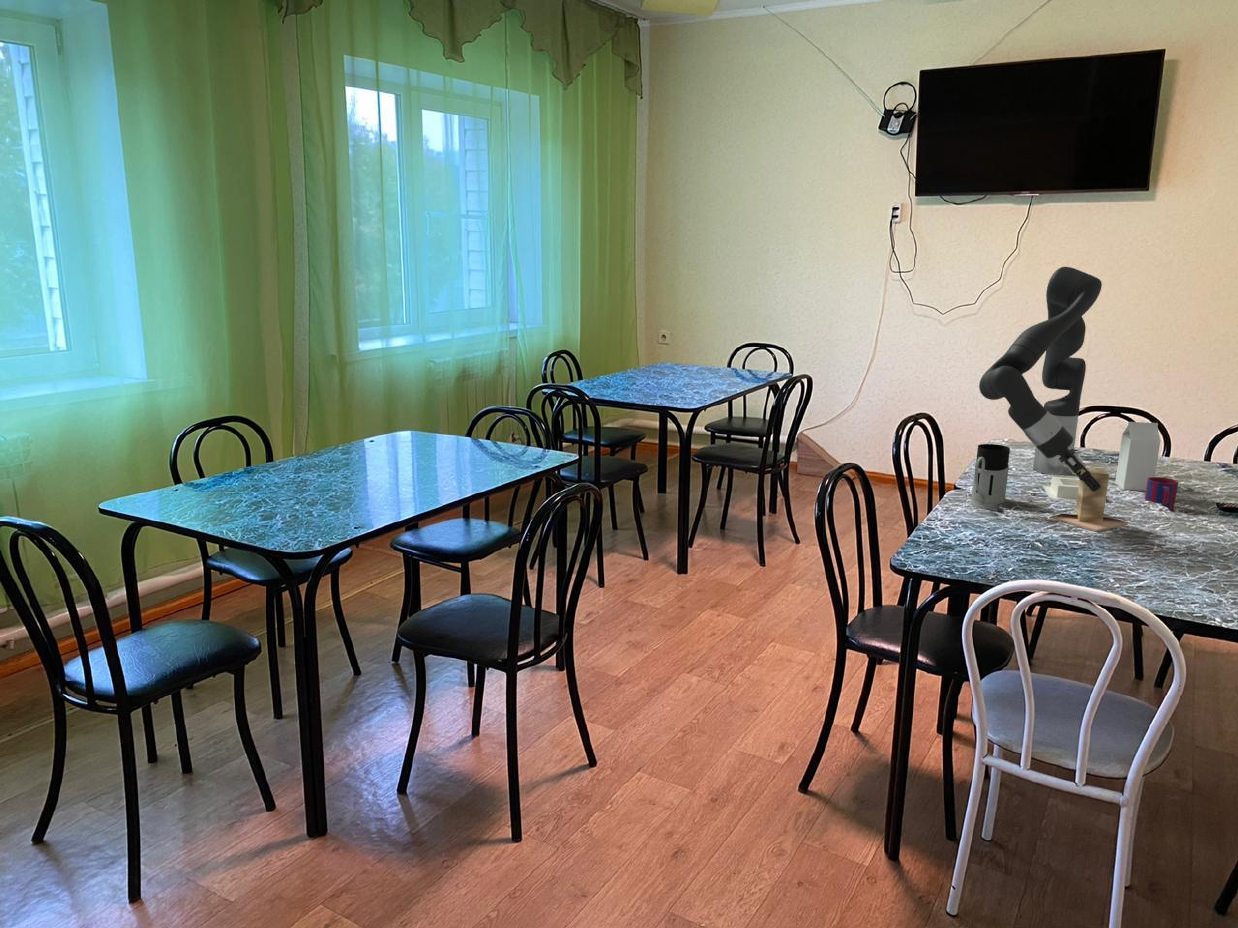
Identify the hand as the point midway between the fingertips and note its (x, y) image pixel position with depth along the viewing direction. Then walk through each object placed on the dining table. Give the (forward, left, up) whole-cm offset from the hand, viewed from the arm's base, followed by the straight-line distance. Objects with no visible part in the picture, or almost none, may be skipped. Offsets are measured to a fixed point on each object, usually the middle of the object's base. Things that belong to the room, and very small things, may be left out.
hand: (1093, 484), depth 219 cm
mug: (+1, +27, -9) cm, 29 cm away
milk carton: (-11, +35, -9) cm, 38 cm away
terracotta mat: (0, 0, -9) cm, 9 cm away
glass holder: (-20, -13, -9) cm, 26 cm away
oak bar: (0, 0, -9) cm, 9 cm away
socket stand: (-14, +14, -9) cm, 22 cm away
